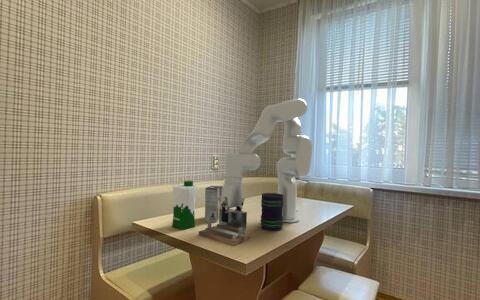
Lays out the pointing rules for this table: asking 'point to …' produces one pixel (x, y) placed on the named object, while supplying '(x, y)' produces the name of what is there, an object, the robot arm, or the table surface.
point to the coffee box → (212, 202)
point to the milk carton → (184, 205)
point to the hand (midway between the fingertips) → (231, 219)
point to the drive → (234, 219)
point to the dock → (224, 234)
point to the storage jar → (272, 212)
